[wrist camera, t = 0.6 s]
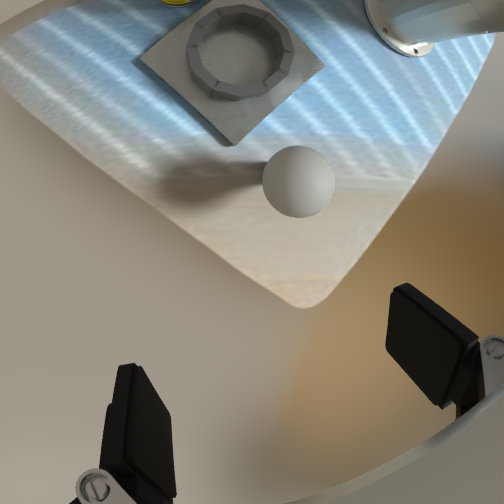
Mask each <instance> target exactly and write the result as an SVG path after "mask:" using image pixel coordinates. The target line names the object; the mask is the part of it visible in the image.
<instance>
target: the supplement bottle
mask: <svg viewBox="0 0 504 504" xmlns="http://www.w3.org/2000/svg"><path fill="white" fill-rule="evenodd" d="M159 1H160V2H161V3H162V4H164V5H167V6H170V7H184V6H187V5H190V4H193V3H194V2H196V1H197V0H159Z"/></svg>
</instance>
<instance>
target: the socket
mask: <svg viewBox="0 0 504 504" xmlns="http://www.w3.org/2000/svg"><path fill="white" fill-rule="evenodd" d="M233 23H240V24H243V25H247V26H250V27H254V28H257V29H258V30H259V31H260V32H261V33H262V34H263V35H264V36H265V37H267V38H268V39H269V40H270V41H271V44H272V47H273V51H274V54H275V58H276V60H275V63H274V66H273V69H272V72H271V76H269V77H268V78H267V79H266V80H265V81H263V82H262V83H257V84H252V85H247V86H242V87H241V86H237V85H234V84H230V83H226V82H223V81H219V80H218V79H217V78H216V77H214V76H213V75H212V74H211V73H210V72H209V71H208V70H207V69H206V68H205V67H203V66H202V62H201V58H200V55H199V51H198V48H199V45H200V42H201V40H202V38H203V37H204V36H205V35H207V34H208V33H209V32H210V31H212V30H213V29H214V28H216V27H217V26H221V25H227V24H233ZM294 54H295V51H294V47H293V44H292V41H291V38H290V34H289V31H288V29H287V28H286V27H285V26H284V25H283V24H282V23H281V22H280V21H278V20H277V19H276V18H275V17H274V16H273V15H272V14H271V13H270V12H268V11H265V10H261V9H258V8H255V7H252V6H248V5H245V4H240V5H232V6H225V7H219V8H215V9H214V10H212V11H211V12H210V13H208V14H207V15H205V16H204V17H203V18H201V19H200V20H199V21H197V22H196V23H195V24H194V27H193V29H192V32H191V34H190V37H189V39H188V42H187V45H186V58H187V62H188V66H189V70H190V74H191V77H192V79H194V80H195V81H196V82H197V83H198V84H199V85H200V86H201V87H202V88H203V89H204V90H206V91H207V92H208V93H209V94H211V95H213V96H217V97H221V98H225V99H229V100H232V101H240V100H244V99H249V98H254V97H259V96H262V95H263V94H265V93H267V92H269V91H270V90H271V89H272V88H273V87H275V86H276V85H277V84H278V83H279V82H281V81H282V80H283V79H284V78H285V77H287V76H288V74H289V71H290V67H291V64H292V61H293V58H294Z"/></svg>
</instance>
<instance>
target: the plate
mask: <svg viewBox="0 0 504 504" xmlns="http://www.w3.org/2000/svg"><path fill="white" fill-rule="evenodd" d="M240 4H245V5H248V6H252V7H255V8H258V9H261V10H265V11H268V12H270V13H271V14H272V15H273V16H274V17H275V18H276V19H277V20H278V21H280V22H281V23H282V24H283V25H284V26H285V27H286V28H287V29H288V31H289V34H290V38H291V41H292V44H293V47H294V51H295V54H294V58H293V61H292V64H291V67H290V71H289V74H288V76H287V77H285V78H284V79H283V80H282V81H281V82H279V83H278V84H277V85H276V86H275V87H273V88H272V89H271V90H270V91H269V92H267V93H265V94H263V95H262V96H259V97H254V98H249V99H244V100H240V101H232V100H229V99H225V98H221V97H217V96H213V95H211V94H209V93H208V92H207V91H206V90H204V89H203V88H202V87H201V86H200V85H199V84H198V83H197V82H196V81H195V80H194V79H192V77H191V74H190V70H189V66H188V62H187V58H186V45H187V42H188V39H189V37H190V34H191V32H192V29H193V27H194V24H195V23H196V22H197V21H199V20H200V19H201V18H203V17H204V16H205V15H207V14H208V13H210V12H211V11H212V10H214V9H215V8H219V7H225V6H232V5H240ZM198 51H199V55H200V58H201V62H202V66H203V67H205V68H206V69H207V70H208V71H209V72H210V73H211V74H212V75H213V76H214V77H216V78H217V79H218V80H219V81H223V82H226V83H230V84H234V85H237V86H241V87H242V86H247V85H252V84H257V83H262V82H263V81H265V80H266V79H267V78H268V77H269V76H271V72H272V69H273V66H274V63H275V60H276V58H275V54H274V51H273V47H272V44H271V41H270V40H269V39H268V38H267V37H265V36H264V35H263V34H262V33H261V32H260V31H259V30H258V29H257V28H254V27H250V26H247V25H243V24H240V23H233V24H227V25H221V26H217V27H216V28H214V29H213V30H212V31H210V32H209V33H208V34H207V35H205V36H204V37H203V38H202V40H201V42H200V45H199V48H198ZM139 59H140V60H141V62H143V63H144V64H145V65H146V66H147V67H148V68H150V69H151V70H152V71H153V72H154V73H155V74H157V75H158V76H159V77H160V78H161V79H162V80H163V81H165V82H166V83H167V84H168V85H169V86H170V87H171V88H172V89H174V90H175V91H176V92H177V93H178V94H179V95H180V96H181V97H182V98H184V99H185V100H186V101H187V102H188V103H189V104H190V105H191V106H192V107H193V108H194V109H196V110H197V111H198V112H199V113H200V114H201V115H202V116H203V117H204V118H205V119H206V120H207V121H208V122H209V123H210V124H211V125H213V126H214V127H215V128H216V129H217V130H218V131H219V132H220V133H221V134H222V135H223V136H224V137H225V138H226V139H227V140H228V141H229V142H230V143H231V144H232V145H233V146H236V145H237V144H238V143H239V142H240V141H241V140H242V139H243V138H244V137H245V136H246V135H247V134H248V133H249V132H250V131H251V130H252V129H254V128H255V127H256V126H257V125H258V124H259V123H260V122H261V121H262V120H263V119H264V118H265V117H266V116H268V115H269V114H270V113H271V112H272V111H273V110H274V109H275V108H276V107H278V106H279V105H280V104H281V103H282V102H283V101H284V100H285V99H287V98H288V97H289V96H290V95H291V94H292V93H293V92H295V91H296V90H297V89H298V88H299V87H300V86H302V85H303V84H304V83H305V82H306V81H308V80H309V79H310V78H311V77H312V76H314V75H315V74H316V73H317V72H318V71H320V70H321V69H322V68H323V67H325V65H324V64H323V63H322V62H321V61H320V59H319V58H318V57H317V56H316V55H315V54H314V53H313V52H312V51H311V50H310V48H309V47H308V46H307V45H306V44H305V43H304V42H303V41H302V40H301V39H300V38H299V37H298V36H297V35H296V34H295V33H294V32H293V31H292V30H291V29H290V28H289V27H288V26H287V25H286V24H285V23H284V22H283V21H282V20H281V19H280V18H279V17H278V16H276V15H275V14H274V13H273V12H272V11H271V10H270V9H269V8H268V7H266V6H265V5H264V4H263V3H262V2H261V1H260V0H212V1H211V2H209V3H208V4H206V5H205V6H203V7H202V8H200V9H199V10H198V11H196V12H195V13H194V14H192V15H191V16H189V17H188V18H187V19H185V20H184V21H183V22H182V23H180V24H179V25H178V26H176V27H175V28H174V29H173V30H171V31H170V32H169V33H168V34H167V35H165V36H164V37H163V38H162V39H161V40H160V41H158V42H157V43H156V44H155V45H154V46H153V47H151V48H150V49H149V50H148V51H147V52H146V53H145V54H144V55H143V56H142V57H141V58H139Z"/></svg>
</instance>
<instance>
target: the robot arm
mask: <svg viewBox="0 0 504 504" xmlns="http://www.w3.org/2000/svg"><path fill="white" fill-rule="evenodd" d="M364 5H365V10H366V14H367V16H368V18H369V21H370V22H371V24H372V26H373V28H374V29H375V31H376V32H377V33H378V35H379V36H380V37H381V38H382V39H383V40H384V41H385V42H386V43H387V44H388V45H389V46H390V47H391V48H393V49H394V50H396V51H397V52H399V53H401V54H403V55H405V56H409V57H422V56H425V55H427V54H429V53H430V52H431V50H432V49H433V47H434V43H436V42H440V41H445V40H450V39H455V38H461V37H467V36H473V35H480V34H488V33H496V32H504V0H364ZM478 338H479V337H478V336H477V335H476V334H475V333H473V332H472V331H471V330H470V329H469V328H467V327H466V326H465V325H463V324H462V323H461V322H460V321H459V320H457V319H456V318H455V317H453V316H452V315H451V314H449V313H448V312H447V311H446V310H444V309H443V308H442V307H440V306H439V305H438V304H436V303H435V302H434V301H432V300H431V299H430V298H428V297H427V296H426V295H424V294H423V293H422V292H420V291H419V290H418V289H416V288H415V287H414V286H412V285H411V284H409V283H404V284H402V285H399V286H397V287H395V288H394V289H393V292H392V293H391V295H390V306H389V317H388V327H387V335H386V344H385V346H386V350H387V352H388V353H389V354H390V355H391V356H392V357H393V359H394V360H395V361H396V362H397V363H398V364H399V365H400V367H401V368H402V369H403V370H404V371H405V372H406V373H407V374H408V376H409V377H410V378H411V379H412V380H413V381H414V382H415V384H416V385H417V386H418V387H419V388H420V389H421V390H422V391H423V393H424V394H425V395H426V396H427V397H428V399H429V400H430V401H431V402H432V403H433V404H434V405H438V406H439V407H440V408H441V409H444V408H445V407H447V406H449V405H450V404H451V403H452V402H454V403H455V404H456V419H455V421H454V422H452V423H451V424H450V425H448V426H447V427H445V428H444V429H442V430H441V431H439V432H438V433H437V434H435V435H433V436H432V437H430V438H429V439H427V440H426V441H424V442H423V443H421V444H419V445H418V446H416V447H414V448H413V449H411V450H409V451H408V452H406V453H404V454H402V455H400V456H399V457H397V458H395V459H393V460H391V461H389V462H388V463H386V464H384V465H382V466H380V467H378V468H376V469H374V470H372V471H370V472H368V473H365V474H363V475H361V476H359V477H357V478H354V479H352V480H350V481H348V482H345V483H343V484H340V485H338V486H335V487H333V488H330V489H328V490H325V491H322V492H319V493H317V494H314V495H311V496H308V497H305V498H302V499H299V500H296V501H292V502H289V503H286V504H504V337H501V336H498V335H489V336H487V337H485V338H484V339H483V340H482V341H481V343H479V342H478ZM174 472H175V471H174V459H173V445H172V428H171V416H170V413H169V411H168V410H167V408H166V407H165V405H164V403H163V402H162V400H161V399H160V397H159V395H158V394H157V392H156V390H155V389H154V387H153V385H152V383H151V382H150V380H149V378H148V377H147V375H146V373H145V371H144V370H143V368H142V367H141V366H137V365H136V364H135V363H131V364H125V365H120V366H119V367H118V371H117V376H116V382H115V387H114V393H113V399H112V403H111V404H109V405H108V407H107V411H106V417H105V424H104V431H103V439H102V446H101V455H100V465H99V469H90V470H87V471H86V472H84V473H83V474H82V475H81V476H80V477H79V479H78V480H77V482H76V487H75V488H76V494H77V496H78V497H77V498H75V499H74V500H73V501H72V502H71V503H70V504H173V499H172V498H175V497H176V495H177V493H176V482H175V473H174Z"/></svg>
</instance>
